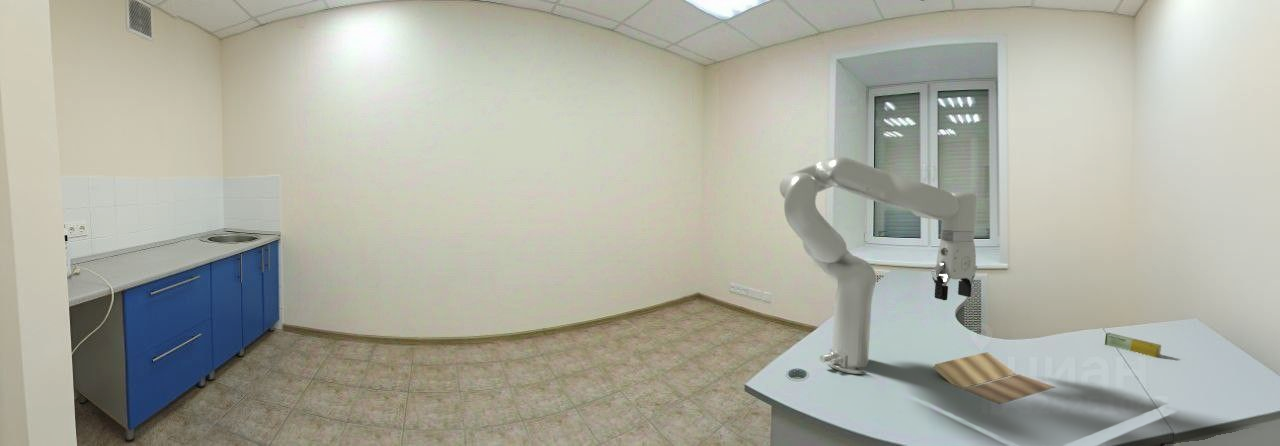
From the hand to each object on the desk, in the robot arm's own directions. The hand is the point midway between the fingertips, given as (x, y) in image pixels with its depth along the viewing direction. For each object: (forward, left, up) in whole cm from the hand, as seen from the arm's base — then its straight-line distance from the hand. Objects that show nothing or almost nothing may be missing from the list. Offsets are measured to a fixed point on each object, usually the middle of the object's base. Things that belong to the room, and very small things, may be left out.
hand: (952, 297), depth 125 cm
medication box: (+69, -12, -21) cm, 74 cm away
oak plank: (0, -7, -19) cm, 20 cm away
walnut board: (0, -16, -21) cm, 26 cm away
